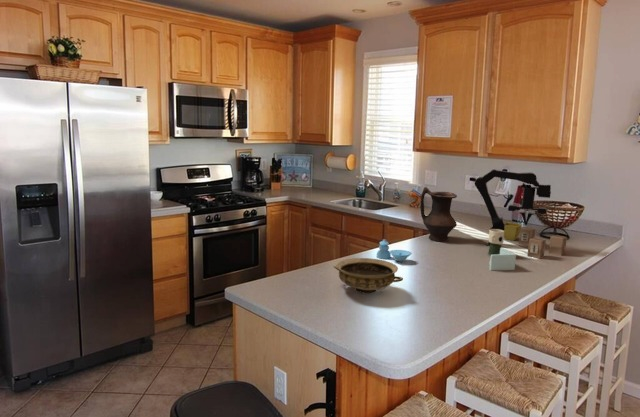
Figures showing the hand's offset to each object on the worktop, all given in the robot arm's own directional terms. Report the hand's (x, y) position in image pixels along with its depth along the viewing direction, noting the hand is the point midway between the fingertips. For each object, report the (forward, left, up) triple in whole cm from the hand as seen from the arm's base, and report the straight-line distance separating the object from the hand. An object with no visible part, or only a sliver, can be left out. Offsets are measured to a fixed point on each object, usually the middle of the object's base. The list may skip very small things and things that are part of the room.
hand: (525, 225), depth 261 cm
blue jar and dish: (-73, +33, -13) cm, 81 cm away
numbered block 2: (-11, -11, -13) cm, 21 cm away
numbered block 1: (+11, +3, -13) cm, 18 cm away
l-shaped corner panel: (-44, -5, -14) cm, 47 cm away
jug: (-19, +42, -13) cm, 48 cm away
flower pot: (+16, +14, -13) cm, 25 cm away
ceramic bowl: (-117, +14, -13) cm, 119 cm away
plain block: (+4, -16, -13) cm, 21 cm away
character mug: (-26, +4, -13) cm, 29 cm away
